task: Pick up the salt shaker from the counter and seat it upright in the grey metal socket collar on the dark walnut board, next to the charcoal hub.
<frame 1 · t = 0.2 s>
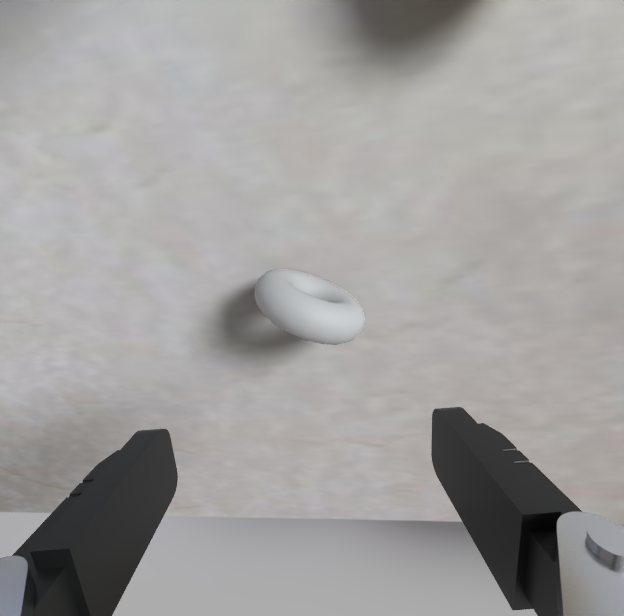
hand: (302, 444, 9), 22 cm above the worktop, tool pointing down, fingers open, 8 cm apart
donut: (309, 287, 31), on the worktop
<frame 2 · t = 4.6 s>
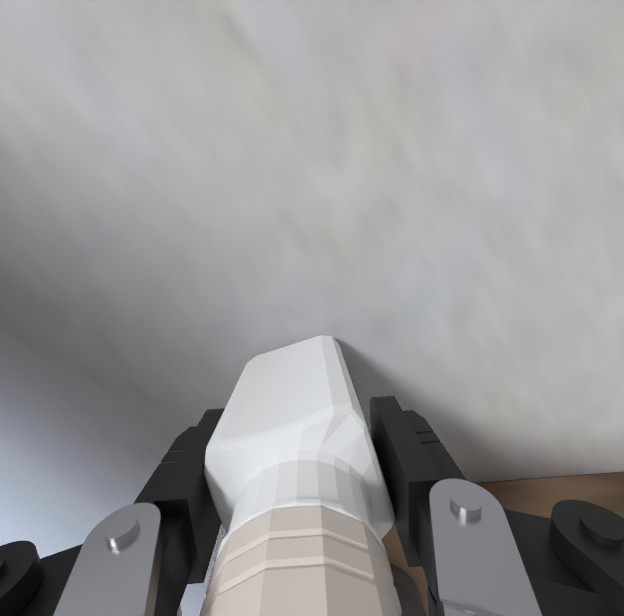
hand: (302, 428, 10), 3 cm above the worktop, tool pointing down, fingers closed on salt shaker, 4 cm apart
carrier board: (451, 609, 16), on the worktop
salt shaker: (303, 380, 13), on the worktop, touching gripper
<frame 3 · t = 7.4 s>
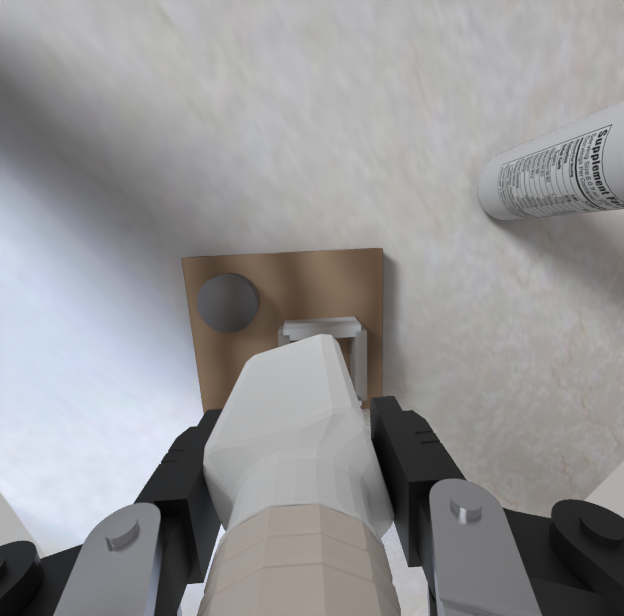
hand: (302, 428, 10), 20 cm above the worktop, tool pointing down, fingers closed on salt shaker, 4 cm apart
energy drink can: (501, 188, 28), on the worktop
carrier board: (289, 332, 30), on the worktop
salt shaker: (302, 379, 13), point 17 cm above the worktop, touching gripper
when the fingers open (6 cm above the worktop, at t = 10.1 s): salt shaker stays where it is, resting on carrier board.
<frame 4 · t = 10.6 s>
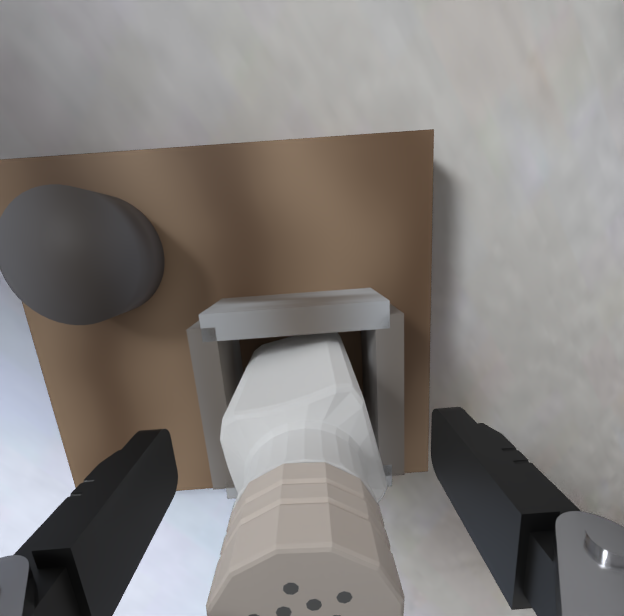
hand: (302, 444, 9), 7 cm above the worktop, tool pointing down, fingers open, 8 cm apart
carrier board: (243, 324, 15), on the worktop
salt shaker: (305, 369, 14), point 2 cm above the worktop, touching carrier board
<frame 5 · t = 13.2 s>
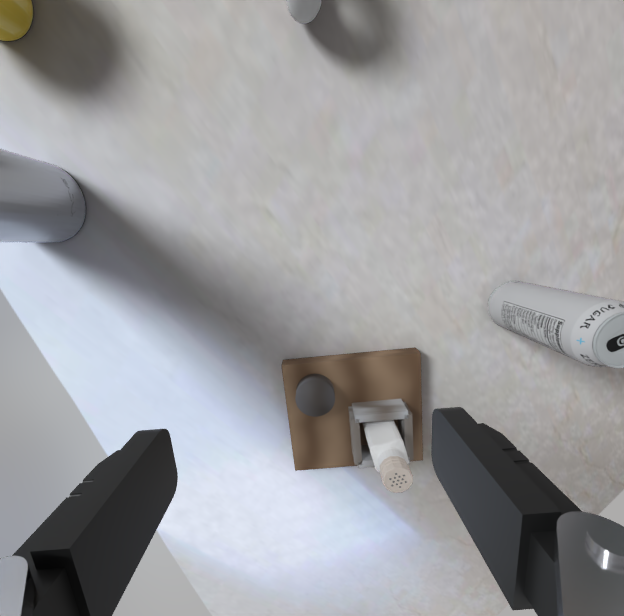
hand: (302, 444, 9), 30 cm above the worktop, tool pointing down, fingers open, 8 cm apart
energy drink can: (505, 302, 39), on the worktop
plant pot: (5, 8, 32), on the worktop
carrier board: (352, 406, 42), on the worktop
salt shaker: (378, 424, 40), point 2 cm above the worktop, touching carrier board
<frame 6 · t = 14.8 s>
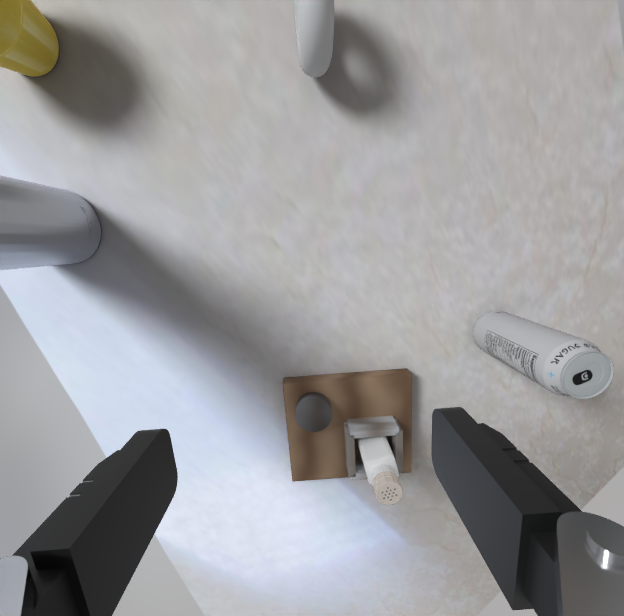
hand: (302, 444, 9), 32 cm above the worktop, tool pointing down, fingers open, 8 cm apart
energy drink can: (489, 329, 42), on the worktop
plant pot: (31, 46, 34), on the worktop
donut: (311, 48, 34), on the worktop
carrier board: (347, 421, 45), on the worktop
salt shaker: (371, 439, 44), point 2 cm above the worktop, touching carrier board
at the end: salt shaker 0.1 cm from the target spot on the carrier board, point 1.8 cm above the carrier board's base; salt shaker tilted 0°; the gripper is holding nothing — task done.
